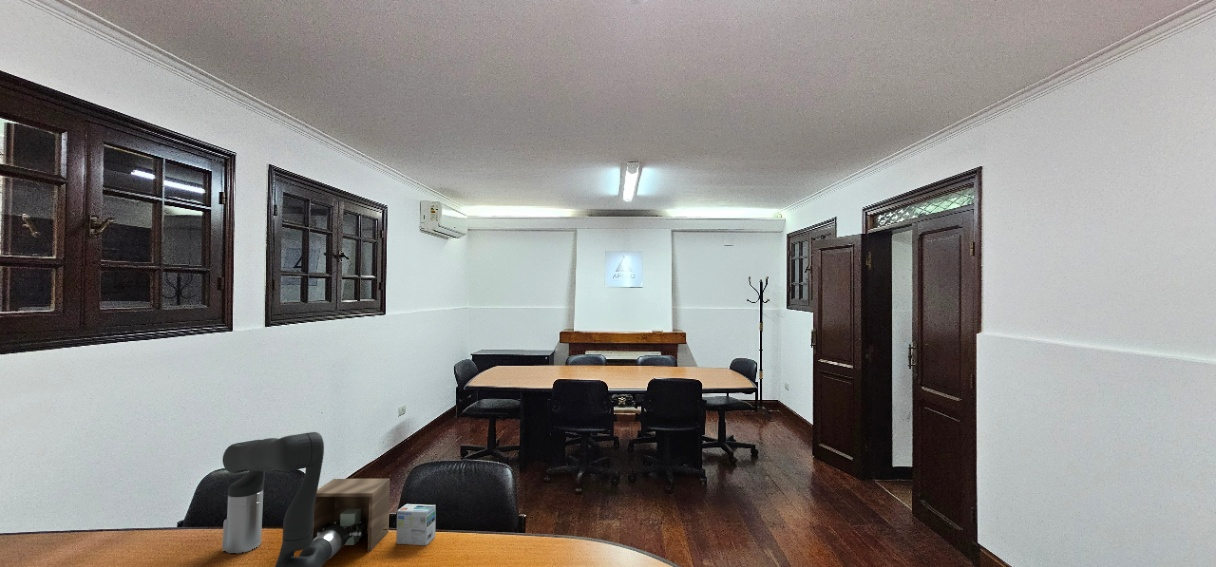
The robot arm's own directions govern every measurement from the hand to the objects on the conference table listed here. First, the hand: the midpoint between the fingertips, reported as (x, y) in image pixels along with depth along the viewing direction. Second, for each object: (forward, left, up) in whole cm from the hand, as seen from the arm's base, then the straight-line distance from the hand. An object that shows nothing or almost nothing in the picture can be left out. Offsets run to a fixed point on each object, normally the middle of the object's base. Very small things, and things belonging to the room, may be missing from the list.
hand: (353, 520), depth 169 cm
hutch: (0, -2, -6) cm, 6 cm away
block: (0, -2, -6) cm, 6 cm away
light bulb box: (+21, -1, -6) cm, 22 cm away
